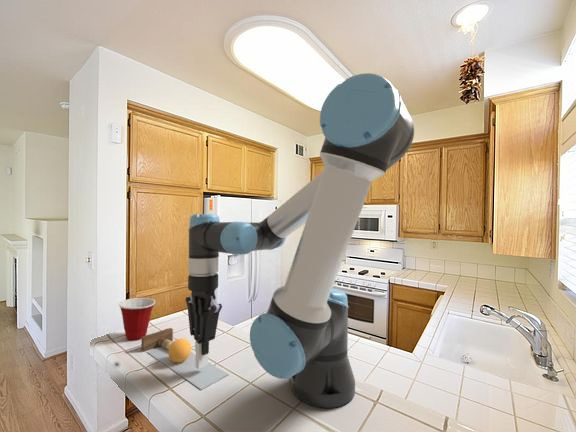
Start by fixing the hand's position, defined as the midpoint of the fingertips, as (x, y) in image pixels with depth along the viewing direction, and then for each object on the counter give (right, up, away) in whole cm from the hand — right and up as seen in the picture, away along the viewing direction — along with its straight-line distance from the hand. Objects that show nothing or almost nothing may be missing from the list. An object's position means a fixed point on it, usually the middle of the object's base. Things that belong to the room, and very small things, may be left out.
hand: (201, 365), depth 67 cm
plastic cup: (-29, -3, +21) cm, 36 cm away
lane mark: (-6, -2, +5) cm, 8 cm away
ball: (-8, +1, +6) cm, 10 cm away
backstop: (-19, -2, +15) cm, 24 cm away
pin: (-10, -1, +10) cm, 15 cm away
